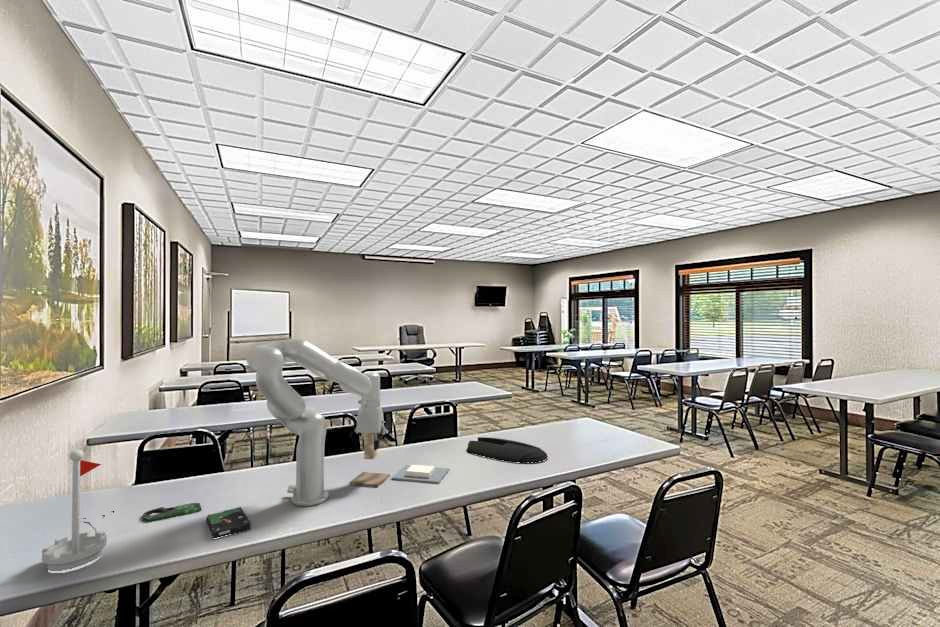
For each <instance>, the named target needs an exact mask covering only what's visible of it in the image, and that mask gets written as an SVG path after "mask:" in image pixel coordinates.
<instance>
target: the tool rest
mask: <svg viewBox="0 0 940 627" xmlns="http://www.w3.org/2000/svg"><path fill="white" fill-rule="evenodd" d="M389 476H390V477H391V475H390V473H379V472H369V471H368V472H367V471H362V472H361V473H360V474H358V475H356V477H354V478H352V480H350V481H349V482H348V484H354V485H353V486H357V485H364V486H363V487H368V486H373V487H372V488H379V487H380V486H381V485H382V484H383V483H384V482H385V480H386V479H387V478H388V477H389ZM390 477H389V478H390ZM389 478H388V479H389ZM388 479H387V480H388ZM387 480H386V481H387ZM381 483H382V484H381ZM380 484H381V485H380ZM379 485H380V486H379ZM378 486H379V487H378Z"/></svg>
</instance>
